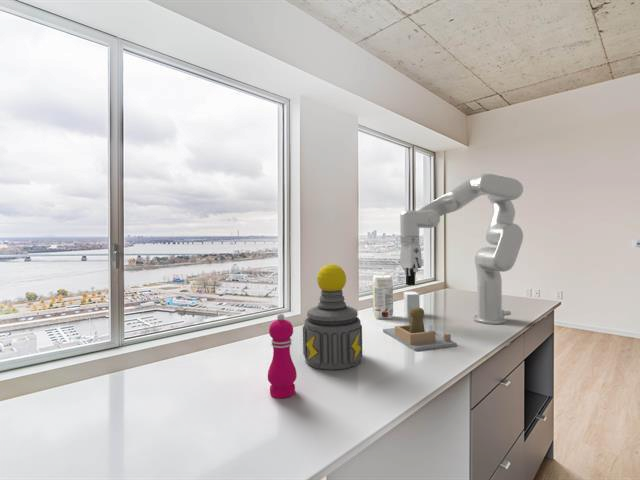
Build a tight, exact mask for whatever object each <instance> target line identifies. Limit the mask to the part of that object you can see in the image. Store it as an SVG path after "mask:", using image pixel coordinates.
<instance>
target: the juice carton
mask: <svg viewBox="0 0 640 480" xmlns="http://www.w3.org/2000/svg"><path fill="white" fill-rule="evenodd" d="M372 305H373V307H372V311H373V315H374V317H375V318H376V320H392V319H393V315H394V283H393V278H392V276H391V275H389V274H387V275H373V279H372Z"/></svg>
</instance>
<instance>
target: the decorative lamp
mask: <svg viewBox="0 0 640 480" xmlns="http://www.w3.org/2000/svg"><path fill="white" fill-rule="evenodd" d="M316 282H317V285H318V288H320V290H321V291H320V296H319V299H318V300H319V302H318V304H317V306H314V307H312V308H310V309H308V310H307V311H306V313H307V315H306V316H307V318H305V320H304V325H303V326H302V346H303V347H302V349H303V350H302V354H303V356H304V359H305V362H306V363H307V365H309V366H311V367H313V368H314V369H319V370H326V371H339V370H341V371H342V370H347V369H350V368H353V367H356V366H357V365H359V364H360V363H361V360H362V357H363V326H362V323H361V322H362V321H361V319H360V318H359V317H358V310H357V309H356V308H353V307H351V306H349V305H347V303H346V302H345V296H344V295H343V294H344V293H343V289H344V287H346V284H347V275H346V272H345V271H344V269H343V268H342V267H341V266H339V265H337V264H334V263H331V264H326V265H323V266H322V267H321V268H320V269H319V271H318V272H317V275H316Z"/></svg>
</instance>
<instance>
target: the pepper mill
mask: <svg viewBox="0 0 640 480" xmlns="http://www.w3.org/2000/svg"><path fill="white" fill-rule="evenodd" d="M293 333H294V326H293V324H292V323H291V321H290V320H287V319H285V314H284V313H278V314H277V317H276V320H274V321H273V322H271V324H270V325H269V328H268V334H269V336H270V337H271V340H270V342H271V345H270V346H272V349H273V350H272V351H273V352H272V354H273V355H272V358H271V359H272V360H271V362H270V365H269V368H268V372H267V381H268V383H269V384H270V386H269V394H270V396H271V397H273V398H276V399H287V398H289V397H292V396H294V394H295V393H296V384H295V381H296V380H297V369H296V367H295V365H294V362H293V359H292V356H291V350H290V349H291V345H292V338H291V337H292V335H293Z"/></svg>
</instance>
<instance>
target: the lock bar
mask: <svg viewBox="0 0 640 480" xmlns="http://www.w3.org/2000/svg"><path fill="white" fill-rule="evenodd" d="M423 323H424V330H425V331H426V332H429V331H434V325H433V324H432V323H430V322H427V321H424V320H423Z"/></svg>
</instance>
